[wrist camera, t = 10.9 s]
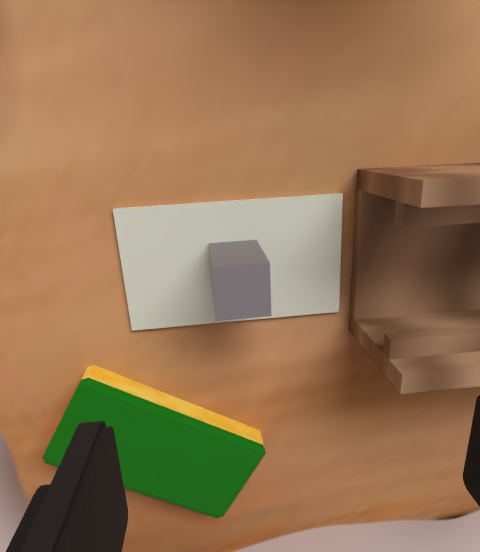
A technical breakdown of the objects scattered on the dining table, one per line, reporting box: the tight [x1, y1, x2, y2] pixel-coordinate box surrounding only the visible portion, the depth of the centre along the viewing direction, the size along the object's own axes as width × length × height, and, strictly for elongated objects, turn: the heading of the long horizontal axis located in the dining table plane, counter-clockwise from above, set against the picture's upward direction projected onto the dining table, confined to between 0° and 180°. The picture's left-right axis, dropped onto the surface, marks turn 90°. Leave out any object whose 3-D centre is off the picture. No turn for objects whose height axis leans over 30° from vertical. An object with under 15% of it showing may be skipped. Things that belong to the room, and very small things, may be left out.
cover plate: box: [113, 193, 343, 331], centre depth 23 cm, size 14×8×6 cm, turn 93°
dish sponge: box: [43, 365, 265, 518], centre depth 28 cm, size 7×14×2 cm, turn 61°
